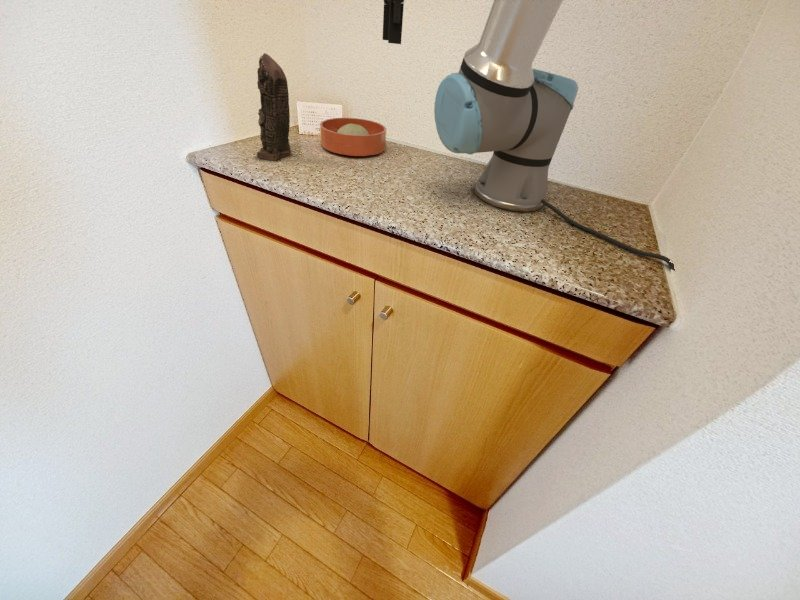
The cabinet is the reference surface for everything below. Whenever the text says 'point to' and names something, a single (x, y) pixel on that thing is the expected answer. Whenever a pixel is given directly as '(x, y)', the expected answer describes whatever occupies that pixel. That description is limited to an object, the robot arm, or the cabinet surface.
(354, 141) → the bowl
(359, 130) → the sea urchin shell
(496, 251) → the cabinet surface
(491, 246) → the cabinet surface
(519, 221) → the cabinet surface
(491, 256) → the cabinet surface
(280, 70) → the statue
